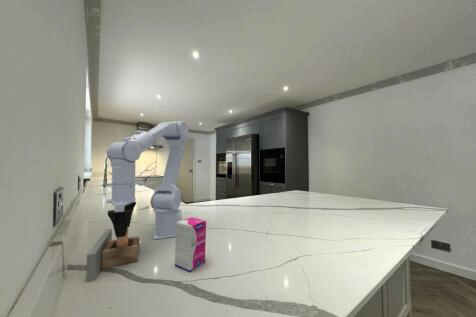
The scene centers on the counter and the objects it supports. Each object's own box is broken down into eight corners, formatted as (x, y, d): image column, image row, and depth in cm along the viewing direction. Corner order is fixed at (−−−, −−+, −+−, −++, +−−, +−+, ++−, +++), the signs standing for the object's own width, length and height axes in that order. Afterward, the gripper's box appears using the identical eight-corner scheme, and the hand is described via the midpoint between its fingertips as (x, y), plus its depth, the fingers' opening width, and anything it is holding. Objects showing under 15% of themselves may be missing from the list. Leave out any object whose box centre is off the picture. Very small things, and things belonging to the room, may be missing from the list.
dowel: (128, 255, 55) (128, 227, 55) (127, 259, 52) (127, 230, 52) (117, 257, 54) (117, 228, 54) (115, 261, 51) (115, 232, 51)
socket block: (139, 249, 58) (139, 236, 58) (137, 261, 51) (137, 246, 51) (108, 254, 55) (108, 240, 55) (101, 268, 48) (101, 252, 48)
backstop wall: (111, 247, 59) (111, 228, 60) (95, 280, 43) (95, 253, 43) (105, 248, 59) (105, 229, 59) (86, 281, 42) (87, 254, 43)
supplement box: (190, 273, 46) (190, 225, 46) (174, 266, 49) (174, 221, 49) (206, 262, 51) (206, 219, 51) (190, 256, 54) (191, 216, 54)
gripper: (112, 181, 59) (111, 225, 58) (100, 187, 45) (99, 244, 45) (137, 180, 61) (137, 222, 61) (133, 185, 48) (132, 239, 48)
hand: (123, 231), depth 53 cm, fingers open, 7 cm apart
